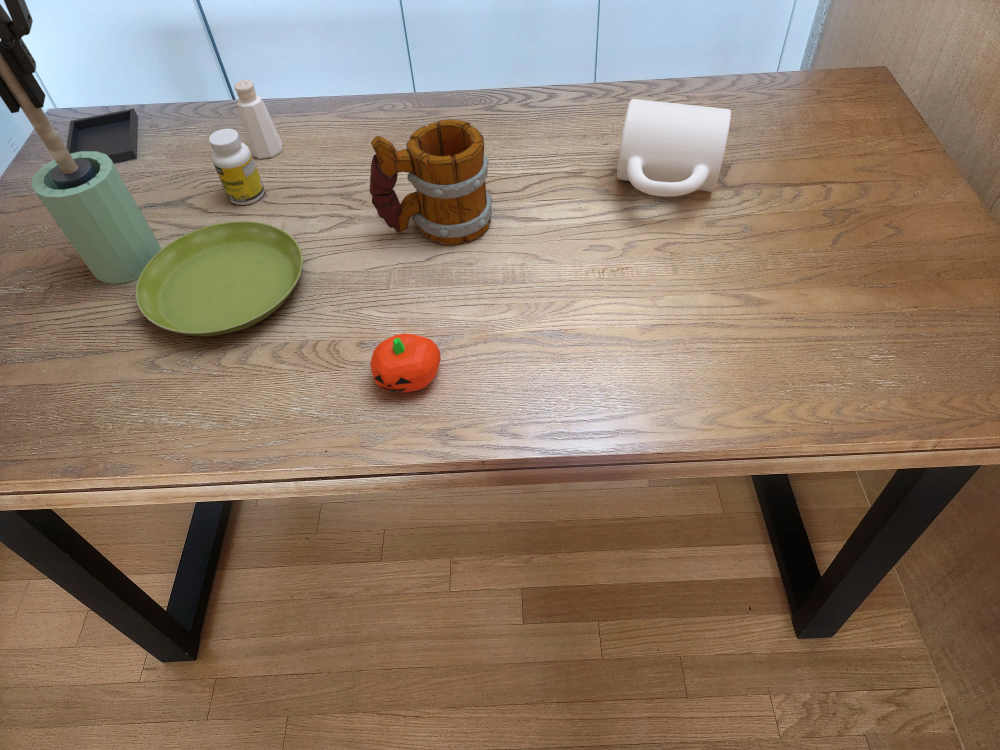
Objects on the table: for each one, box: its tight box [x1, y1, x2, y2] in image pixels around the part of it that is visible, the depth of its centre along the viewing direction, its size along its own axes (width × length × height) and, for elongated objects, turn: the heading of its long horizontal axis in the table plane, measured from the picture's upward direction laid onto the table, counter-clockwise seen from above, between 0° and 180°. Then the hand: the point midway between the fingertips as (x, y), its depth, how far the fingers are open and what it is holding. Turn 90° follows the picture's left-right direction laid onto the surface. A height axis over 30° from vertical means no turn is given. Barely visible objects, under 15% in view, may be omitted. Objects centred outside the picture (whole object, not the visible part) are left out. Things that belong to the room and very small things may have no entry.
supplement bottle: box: [208, 128, 265, 206], centre depth 95 cm, size 5×5×10 cm
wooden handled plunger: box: [0, 53, 97, 190], centre depth 73 cm, size 5×5×24 cm
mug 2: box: [616, 98, 732, 198], centre depth 92 cm, size 16×14×11 cm
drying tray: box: [65, 108, 139, 165], centre depth 108 cm, size 13×10×2 cm
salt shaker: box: [233, 79, 283, 160], centre depth 102 cm, size 5×5×11 cm
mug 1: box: [369, 119, 493, 246], centre depth 87 cm, size 11×16×15 cm, turn 108°
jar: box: [30, 151, 163, 285], centre depth 86 cm, size 9×9×14 cm
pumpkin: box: [370, 332, 442, 394], centre depth 74 cm, size 7×8×6 cm
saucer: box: [135, 220, 304, 337], centre depth 85 cm, size 21×21×3 cm
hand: (28, 103), depth 73 cm, fingers closed on wooden handled plunger, 2 cm apart
